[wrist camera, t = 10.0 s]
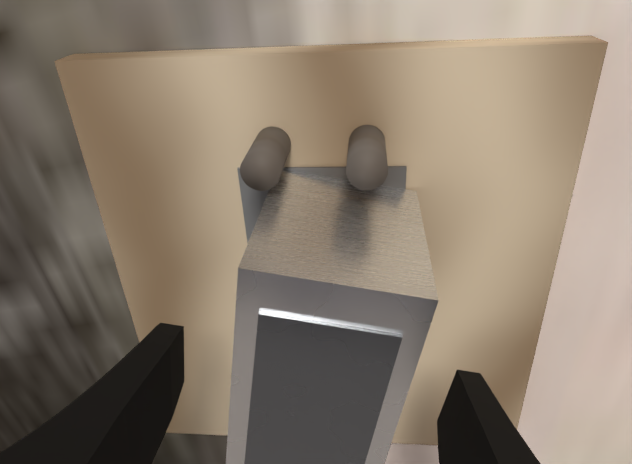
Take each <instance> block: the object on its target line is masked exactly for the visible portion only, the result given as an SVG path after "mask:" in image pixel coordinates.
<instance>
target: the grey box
mask: <svg viewBox="0 0 632 464" xmlns="http://www.w3.org/2000/svg"><path fill="white" fill-rule="evenodd" d="M438 301H439V300H438V295H437V290H436V285H435V280H434V275H433V270H432V265H431V260H430V255H429V250H428V245H427V240H426V235H425V230H424V225H423V221H422V216H421V211H420V206H419V201H418V196H417V191H414V190H407V189H401V188H395V187H388V186H382V185H381V186H379V187H378V188H376V189H373V190H361V189H358V188H356V187H354V186H353V185H352V184H351V183H350V182H349V180H345V179H338V178H332V177H326V176H320V175H313V174H307V173H301V172H295V171H288V170H283V171H282V174H281V176H280V179H279V181H278V183H277V184H276V185H275V186H274V187H273V188H271V189H269V192H268V194H267V197H266V199H265V202H264V204H263V207H262V209H261V212H260V214H259V217H258V219H257V222H256V224H255V227H254V229H253V232H252V234H251V237H250V239H249V242H248V244H247V247H246V249H245V252H244V254H243V257H242V259H241V262H240V264H239V267H238V277H237V293H236V309H235V325H234V341H233V357H232V373H231V389H230V405H229V421H228V436H227V452H226V464H384V463H385V460H386V457H387V454H388V451H389V448H390V445H391V442H392V439H393V436H394V433H395V430H396V427H397V424H398V421H399V418H400V415H401V412H402V409H403V406H404V403H405V400H406V397H407V394H408V391H409V388H410V385H411V382H412V379H413V376H414V373H415V370H416V367H417V364H418V361H419V358H420V355H421V352H422V349H423V346H424V343H425V340H426V337H427V334H428V331H429V328H430V325H431V322H432V319H433V316H434V313H435V310H436V307H437V304H438Z"/></svg>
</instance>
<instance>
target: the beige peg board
mask: <svg viewBox="0 0 632 464" xmlns="http://www.w3.org/2000/svg"><path fill="white" fill-rule="evenodd" d="M607 45H608V42H606V41H603V40H601V39H598V38H596V37H593V36H571V37H542V38H514V39H485V40H457V41H429V42H400V43H372V44H343V45H315V46H286V47H258V48H229V49H201V50H172V51H144V52H115V53H87V54H72V55H70V56H67V57H64V58H62V59H59V60H56V61H55V64H56V68H57V71H58V74H59V78H60V81H61V84H62V88H63V91H64V94H65V98H66V101H67V104H68V108H69V111H70V114H71V117H72V121H73V124H74V127H75V131H76V134H77V137H78V141H79V144H80V147H81V151H82V154H83V157H84V160H85V164H86V167H87V170H88V174H89V177H90V180H91V184H92V187H93V190H94V194H95V197H96V200H97V204H98V207H99V210H100V213H101V217H102V220H103V223H104V227H105V230H106V233H107V237H108V240H109V243H110V247H111V250H112V253H113V256H114V260H115V263H116V266H117V270H118V273H119V276H120V280H121V283H122V286H123V290H124V293H125V296H126V300H127V303H128V306H129V309H130V313H131V316H132V319H133V323H134V326H135V329H136V333H137V336H138V339H139V343H140V342H141V341H142V340H143V339H144V338H145V337H146V336H147V335H148V334H149V333H150V332H151V331H152V330H153V329H154V328H155V327H156V326H157V325H158V324H160V323H166V324H172V325H179V326H184V384H183V387H182V390H181V393H180V397H179V400H178V403H177V406H176V409H175V412H174V414H173V417H172V420H171V422H170V424H169V426H168V429H167V431H166V432H167V433H185V434H207V435H228V421H229V405H230V389H231V373H232V357H233V341H234V325H235V309H236V293H237V277H238V267H239V264H240V262H241V259H242V257H243V254H244V252H245V249H246V247H247V244H248V242H249V239H250V237H251V234H252V232H253V229H254V227H255V224H256V222H257V219H258V217H259V214H260V212H261V209H262V207H263V204H264V202H265V199H266V197H267V194H268V192H269V189H271V188H273V187H274V186H275V185H276V184H277V183H278V181H279V179H280V176H281V174H282V171H283V170H288V171H295V172H301V173H307V174H313V175H320V176H326V177H332V178H338V179H345V180H349V182H350V183H351V184H352V185H353V186H354V187H356V188H358V189H361V190H373V189H376V188H378V187H379V186H381V185H382V186H388V187H395V188H401V189H407V190H414V191H417V196H418V201H419V206H420V211H421V216H422V221H423V225H424V230H425V235H426V240H427V245H428V250H429V255H430V260H431V265H432V270H433V275H434V280H435V285H436V290H437V295H438V300H439V301H438V304H437V307H436V310H435V313H434V316H433V319H432V322H431V325H430V328H429V331H428V334H427V337H426V340H425V343H424V346H423V349H422V352H421V355H420V358H419V361H418V364H417V367H416V370H415V373H414V376H413V379H412V382H411V385H410V388H409V391H408V394H407V397H406V400H405V403H404V406H403V409H402V412H401V415H400V418H399V421H398V424H397V427H396V430H395V433H394V436H393V439H392V442H391V443H402V444H424V445H438V435H437V420H438V417H439V414H440V412H441V409H442V407H443V404H444V402H445V399H446V396H447V394H448V391H449V389H450V386H451V384H452V381H453V378H454V376H455V373H456V371H457V370H464V371H470V372H476V373H481V375H482V376H483V378H484V379H485V381H486V382H487V384H488V386H489V387H490V389H491V390H492V392H493V394H494V395H495V397H496V398H497V400H498V402H499V403H500V405H501V406H502V408H503V409H504V411H505V413H506V414H507V416H508V417H509V419H510V420H511V422H512V423H513V425H514V426H515V428H516V429H517V427H518V423H519V418H520V414H521V410H522V406H523V401H524V397H525V393H526V389H527V384H528V380H529V376H530V372H531V367H532V363H533V359H534V355H535V351H536V346H537V342H538V338H539V334H540V329H541V325H542V321H543V317H544V312H545V308H546V304H547V300H548V295H549V291H550V287H551V283H552V278H553V274H554V270H555V266H556V261H557V257H558V253H559V249H560V244H561V240H562V236H563V232H564V227H565V223H566V219H567V215H568V210H569V206H570V202H571V198H572V193H573V189H574V185H575V181H576V176H577V172H578V168H579V164H580V159H581V155H582V151H583V147H584V143H585V138H586V134H587V130H588V126H589V121H590V117H591V113H592V109H593V104H594V100H595V96H596V92H597V87H598V83H599V79H600V75H601V70H602V66H603V62H604V58H605V53H606V49H607Z"/></svg>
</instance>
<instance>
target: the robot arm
mask: <svg viewBox="0 0 632 464" xmlns="http://www.w3.org/2000/svg"><path fill="white" fill-rule="evenodd" d="M183 384H184V326H179V325H172V324H166V323H160V324H158V325H157V326H156V327H155V328H154V329H153V330H152V331H151V332H150V333H149V334H148V335H147V336H146V337H145V338H144V339H143V340H142V341H141V342H140V343H139V344H138V345H137V346H136V347H134V348H133V349H132V350H131V351H130V352H129V353H128V354H127V355H126V356H125V357H124V358H123V359H122V360H121V361H120V362H119V363H117V364H116V365H115V366H114V367H113V368H112V369H111V370H110V371H109V372H107V373H106V374H105V375H104V376H103V377H102V378H101V379H100V380H98V381H97V382H96V383H95V384H94V385H93V386H91V387H90V388H89V389H88V390H86V391H85V392H84V393H83V394H82V395H80V396H79V397H78V398H77V399H75V400H74V401H73V402H72V403H71V404H69V405H68V406H67V407H65V408H64V409H63V410H62V411H60V412H59V413H58V414H56V415H55V416H54V417H52V418H51V419H50V420H48V421H47V422H45V423H44V424H43V425H41V426H40V427H38V428H37V429H36V430H34V431H33V432H31V433H30V434H28V435H27V436H25V437H24V438H22V439H21V440H19V441H18V442H16V443H15V444H13V445H12V446H10V447H9V448H7V449H5V450H4V451H2V452H1V453H0V464H151V463H152V461H153V459H154V457H155V455H156V453H157V450H158V448H159V446H160V444H161V442H162V440H163V437H164V435H165V433H166V431H167V429H168V426H169V424H170V422H171V420H172V417H173V414H174V412H175V409H176V406H177V403H178V400H179V397H180V393H181V390H182V387H183ZM437 435H438V452H439V463H440V464H540V462H539V461H538V460H537V458H536V457H535V456H534V454H533V453H532V451H531V450H530V448H529V447H528V445H527V444H526V443H525V441H524V440H523V438H522V437H521V435H520V434H519V432H518V431H517V429H516V428H515V426H514V425H513V423H512V422H511V420H510V419H509V417H508V416H507V414H506V413H505V411H504V409H503V408H502V406H501V405H500V403H499V402H498V400H497V398H496V397H495V395H494V394H493V392H492V390H491V389H490V387H489V386H488V384H487V382H486V381H485V379H484V378H483V376H482V375H481V373H476V372H470V371H464V370H457V371H456V373H455V376H454V378H453V381H452V384H451V386H450V389H449V391H448V394H447V396H446V399H445V402H444V404H443V407H442V409H441V412H440V414H439V417H438V420H437Z"/></svg>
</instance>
